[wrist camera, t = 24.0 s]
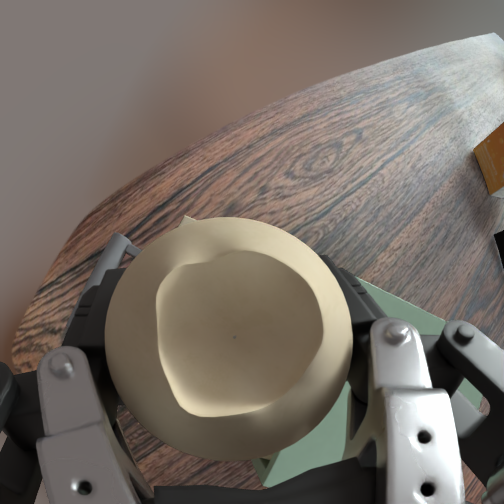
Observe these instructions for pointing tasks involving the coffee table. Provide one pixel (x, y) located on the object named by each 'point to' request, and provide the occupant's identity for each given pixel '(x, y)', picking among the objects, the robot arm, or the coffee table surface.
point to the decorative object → (500, 244)
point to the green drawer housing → (334, 424)
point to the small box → (492, 161)
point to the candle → (228, 339)
